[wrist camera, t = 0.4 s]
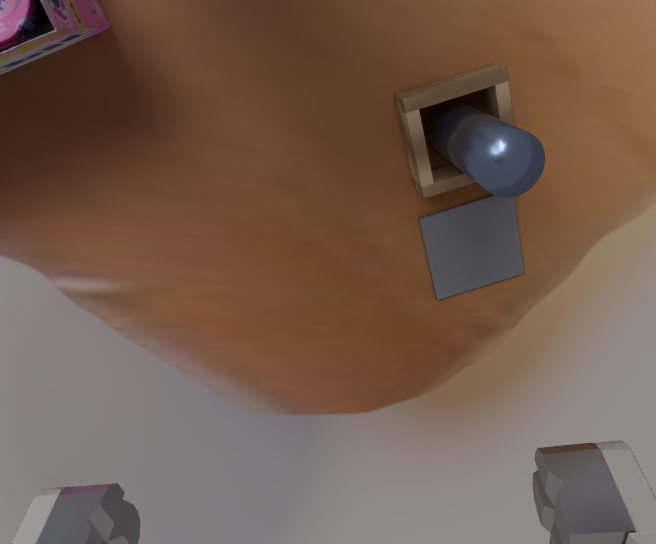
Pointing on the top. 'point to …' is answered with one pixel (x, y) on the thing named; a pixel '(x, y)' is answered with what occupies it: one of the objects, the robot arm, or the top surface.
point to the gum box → (45, 28)
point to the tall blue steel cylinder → (486, 148)
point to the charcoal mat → (472, 245)
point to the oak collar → (410, 101)
